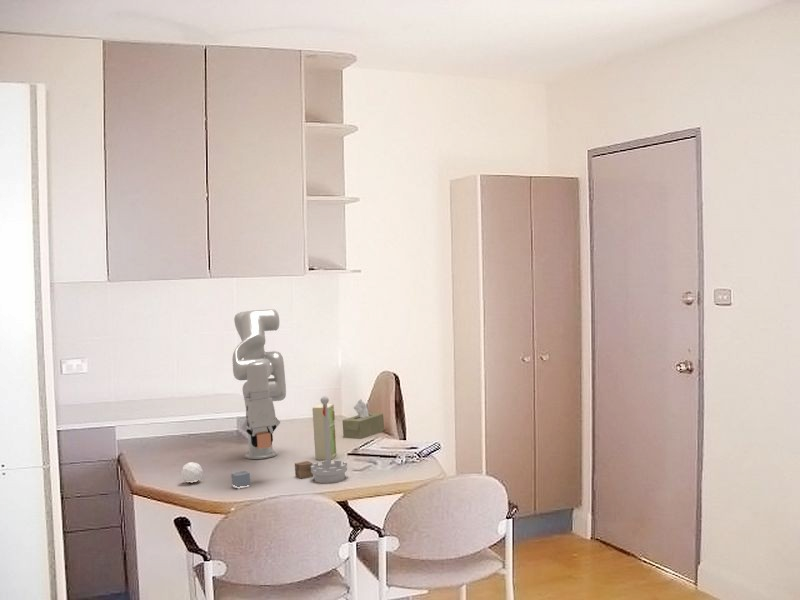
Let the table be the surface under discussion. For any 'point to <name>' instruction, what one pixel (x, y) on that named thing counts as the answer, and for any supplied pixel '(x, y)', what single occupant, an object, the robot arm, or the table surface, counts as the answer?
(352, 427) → the tissue box
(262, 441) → the terracotta block
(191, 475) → the geometric ball
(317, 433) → the green and beige carton
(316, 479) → the flag stand
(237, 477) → the slate-grey block
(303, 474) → the walnut block
